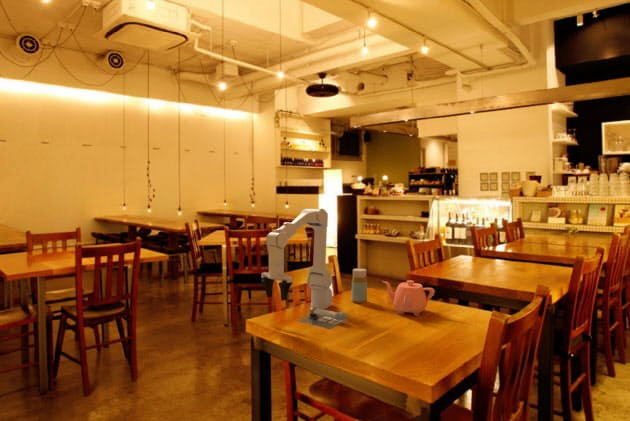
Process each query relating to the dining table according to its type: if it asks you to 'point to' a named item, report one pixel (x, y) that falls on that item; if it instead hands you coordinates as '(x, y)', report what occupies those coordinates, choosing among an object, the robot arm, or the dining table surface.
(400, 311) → the teapot
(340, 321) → the label
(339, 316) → the swing arm
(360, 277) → the bottle
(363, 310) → the dining table surface
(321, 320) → the label
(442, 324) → the dining table surface
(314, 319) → the plate
